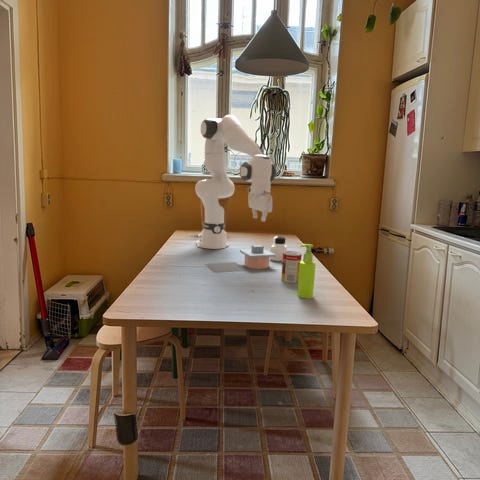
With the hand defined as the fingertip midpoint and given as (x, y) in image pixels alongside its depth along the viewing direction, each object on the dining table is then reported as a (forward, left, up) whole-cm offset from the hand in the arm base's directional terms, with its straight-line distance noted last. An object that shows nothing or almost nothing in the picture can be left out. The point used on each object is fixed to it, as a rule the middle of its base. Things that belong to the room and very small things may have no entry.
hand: (259, 219), depth 191 cm
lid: (0, 0, -17) cm, 17 cm away
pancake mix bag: (-84, +5, -23) cm, 87 cm away
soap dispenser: (+45, 0, -23) cm, 51 cm away
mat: (0, -16, -23) cm, 28 cm away
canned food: (+25, +5, -23) cm, 34 cm away
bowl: (0, 0, -23) cm, 23 cm away
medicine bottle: (-11, +17, -23) cm, 31 cm away
